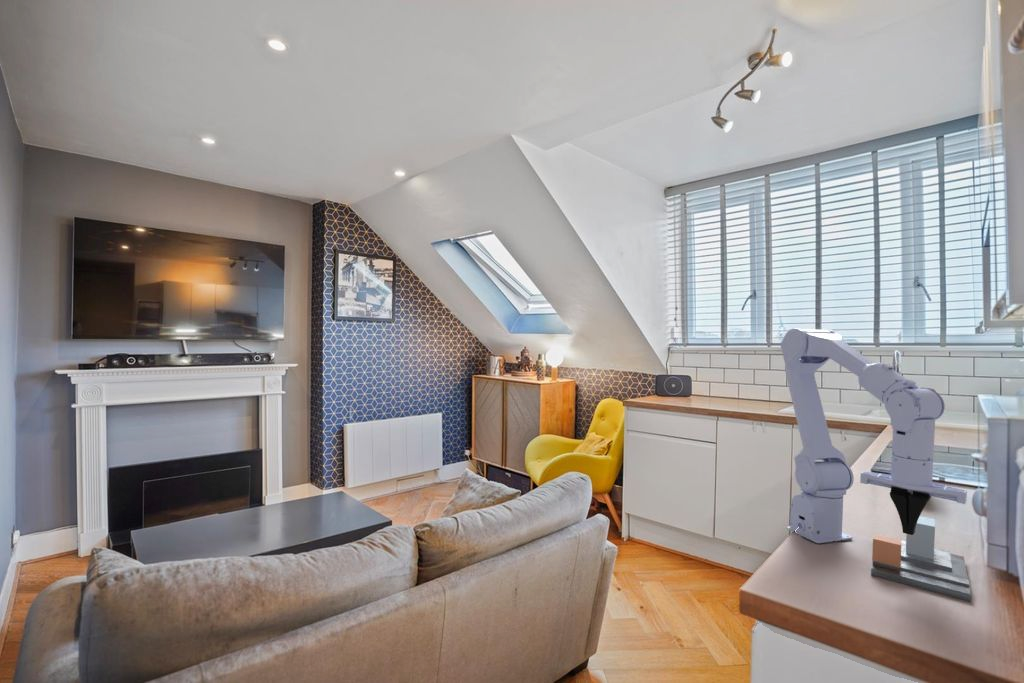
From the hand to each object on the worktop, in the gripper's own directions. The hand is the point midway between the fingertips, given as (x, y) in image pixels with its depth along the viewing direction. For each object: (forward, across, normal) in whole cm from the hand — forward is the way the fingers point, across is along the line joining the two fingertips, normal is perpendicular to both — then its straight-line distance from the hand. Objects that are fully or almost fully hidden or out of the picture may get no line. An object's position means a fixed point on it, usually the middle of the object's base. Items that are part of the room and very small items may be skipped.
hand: (908, 532), depth 88 cm
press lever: (+6, +3, 0) cm, 7 cm away
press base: (+8, -1, -5) cm, 9 cm away
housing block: (+6, 0, -9) cm, 11 cm away
